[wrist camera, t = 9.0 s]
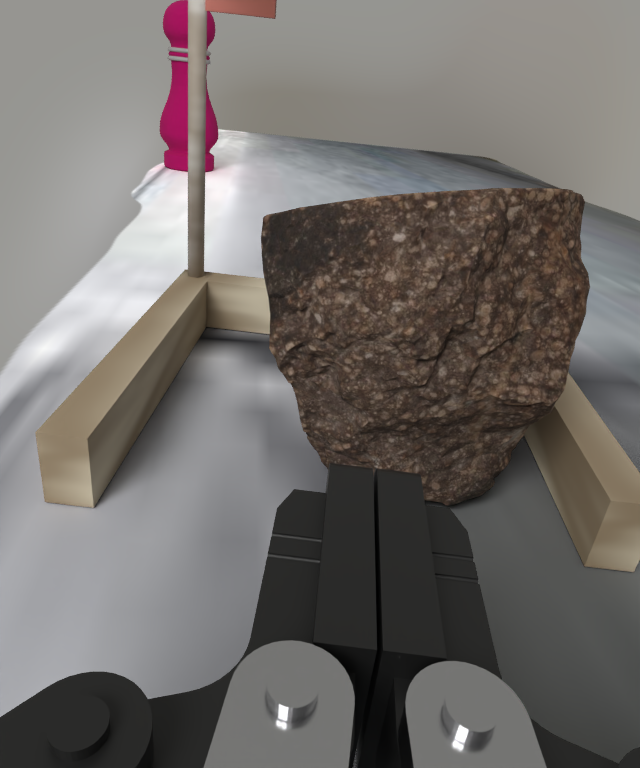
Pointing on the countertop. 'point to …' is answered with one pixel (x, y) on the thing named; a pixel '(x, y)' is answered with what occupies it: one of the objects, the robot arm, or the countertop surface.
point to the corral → (252, 314)
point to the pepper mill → (183, 91)
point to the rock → (427, 326)
